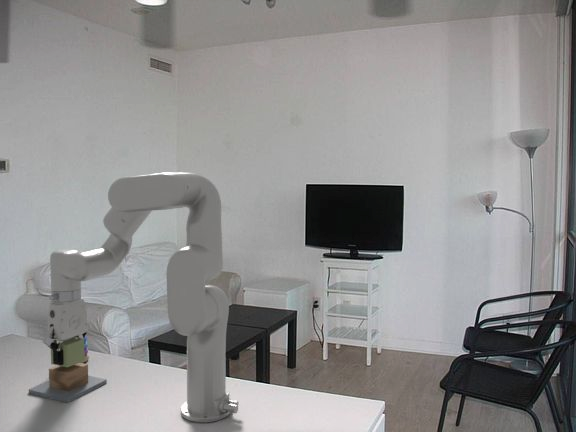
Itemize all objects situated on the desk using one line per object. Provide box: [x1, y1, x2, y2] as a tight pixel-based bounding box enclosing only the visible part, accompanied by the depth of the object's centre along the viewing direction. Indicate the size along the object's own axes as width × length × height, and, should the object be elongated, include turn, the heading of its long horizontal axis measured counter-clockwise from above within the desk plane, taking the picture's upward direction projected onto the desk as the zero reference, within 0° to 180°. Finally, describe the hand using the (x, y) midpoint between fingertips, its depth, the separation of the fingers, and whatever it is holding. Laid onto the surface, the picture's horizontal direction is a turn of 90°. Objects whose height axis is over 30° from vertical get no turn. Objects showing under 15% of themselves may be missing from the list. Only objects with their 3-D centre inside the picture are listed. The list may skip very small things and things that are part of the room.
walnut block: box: [48, 363, 89, 391], centre depth 142 cm, size 7×7×5 cm
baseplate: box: [28, 375, 107, 404], centre depth 143 cm, size 14×14×1 cm
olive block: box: [50, 337, 85, 367], centre depth 142 cm, size 6×6×6 cm
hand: (68, 359), depth 142 cm, fingers closed on olive block, 5 cm apart
